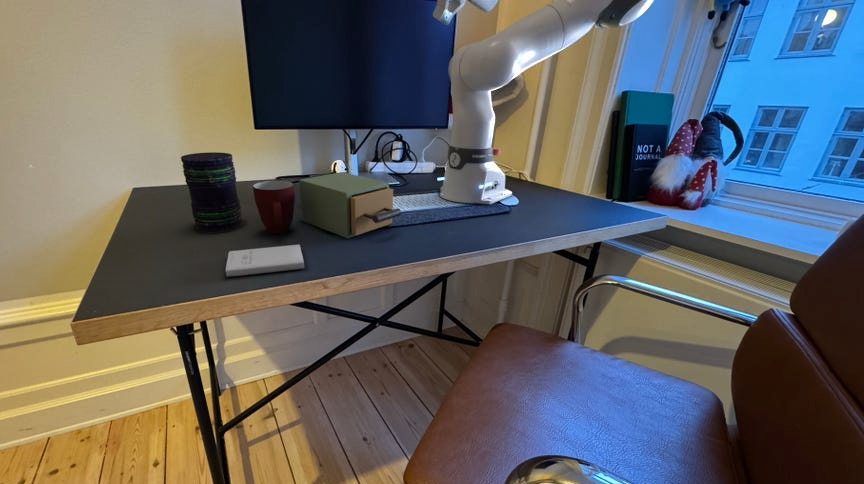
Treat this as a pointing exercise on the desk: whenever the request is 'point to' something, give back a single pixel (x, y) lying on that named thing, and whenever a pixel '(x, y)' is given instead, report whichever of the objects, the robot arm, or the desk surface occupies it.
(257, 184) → the mug
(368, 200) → the drawer
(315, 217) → the cabinet
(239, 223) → the storage jar
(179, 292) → the desk surface
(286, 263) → the hard drive
